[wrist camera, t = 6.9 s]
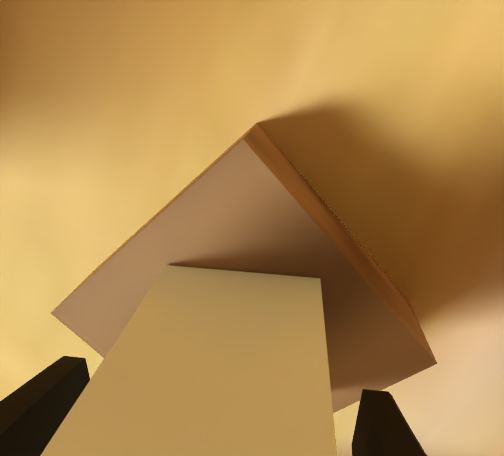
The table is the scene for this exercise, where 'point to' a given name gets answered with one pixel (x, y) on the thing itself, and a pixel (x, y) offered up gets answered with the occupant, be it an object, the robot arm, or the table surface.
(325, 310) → the walnut box
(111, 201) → the table surface
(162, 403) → the cream cube with panel
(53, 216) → the table surface
